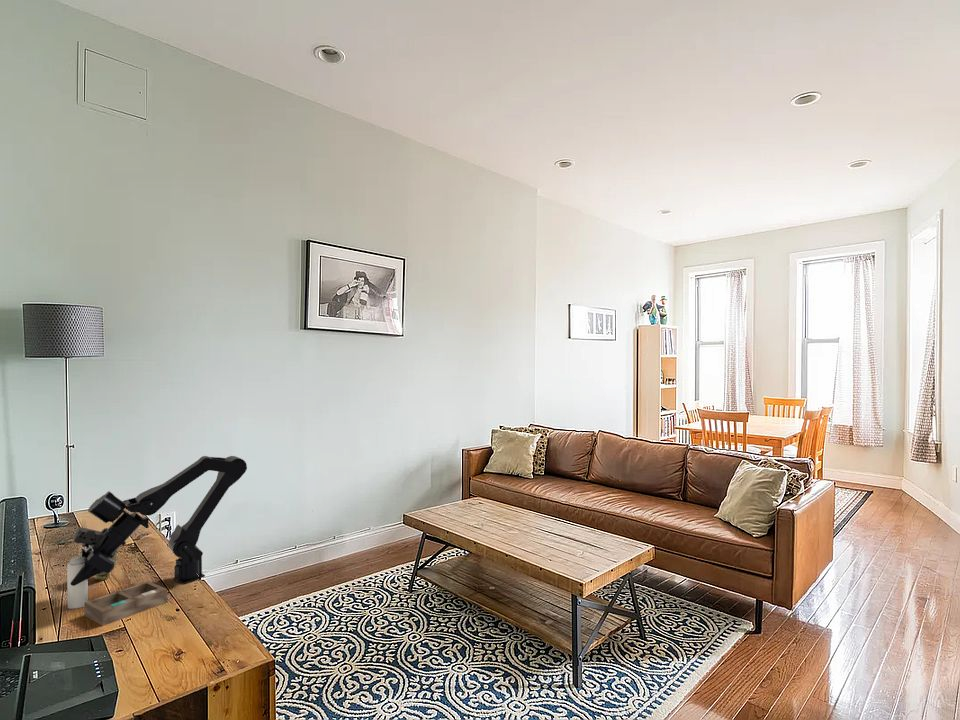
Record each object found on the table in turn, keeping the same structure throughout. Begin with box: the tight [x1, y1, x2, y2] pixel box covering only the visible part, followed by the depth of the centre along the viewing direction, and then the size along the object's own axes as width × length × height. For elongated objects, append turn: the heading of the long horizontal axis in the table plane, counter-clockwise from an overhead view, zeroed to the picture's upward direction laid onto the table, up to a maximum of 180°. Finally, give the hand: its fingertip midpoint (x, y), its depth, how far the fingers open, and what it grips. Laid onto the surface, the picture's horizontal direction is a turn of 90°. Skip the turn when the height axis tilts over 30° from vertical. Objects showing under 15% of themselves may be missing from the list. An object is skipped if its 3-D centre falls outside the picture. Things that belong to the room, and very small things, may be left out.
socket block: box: [83, 581, 168, 626], centre depth 147 cm, size 16×10×4 cm, turn 147°
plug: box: [66, 556, 89, 610], centre depth 149 cm, size 4×4×12 cm
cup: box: [94, 550, 118, 581], centre depth 167 cm, size 8×7×8 cm
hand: (71, 582), depth 148 cm, fingers open, 5 cm apart
